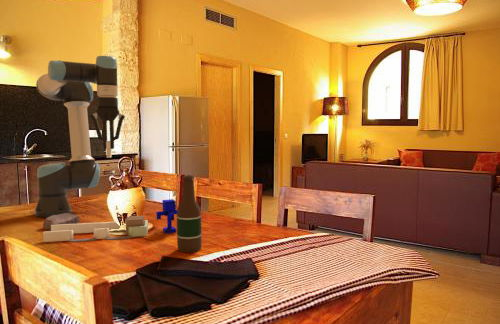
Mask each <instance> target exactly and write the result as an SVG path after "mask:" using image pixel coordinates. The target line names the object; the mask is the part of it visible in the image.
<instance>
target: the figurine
mask: <svg viewBox="0 0 500 324" xmlns="http://www.w3.org/2000/svg"><path fill="white" fill-rule="evenodd" d="M161 203H162V211H161V210H160V211H155V212H156V213H155V214H156V220H162V216H164V217H166V224H167V226H166V227H163V228H162V232H164V233H165V234H173V233H177V227H175V226H172V225H173V223H172V222H173V221H175V215H177V207H176V206H177V205H176V203H177V201H176V200H175V199H173V198H171V199H170V198H169V199H162V202H161Z"/></svg>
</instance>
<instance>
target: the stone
mask: <svg viewBox="0 0 500 324" xmlns="http://www.w3.org/2000/svg"><path fill="white" fill-rule="evenodd" d="M80 223H81V222H80V217H79V215H78V214H73V213H69V214H68V213H63V214H59V215H52V216H50V217H45V220H44V221H43V223H42V225H43V226H42V228H43V229H44V230H51V225H61V224H80Z"/></svg>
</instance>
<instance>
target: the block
mask: <svg viewBox="0 0 500 324" xmlns="http://www.w3.org/2000/svg"><path fill="white" fill-rule="evenodd" d="M125 219H126V220H125V221H126V231H125V232H126V234H125V235H126V236H129V227H137V226H144V220H145V215H130V217H126V218H125Z"/></svg>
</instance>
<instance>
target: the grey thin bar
mask: <svg viewBox="0 0 500 324" xmlns="http://www.w3.org/2000/svg"><path fill="white" fill-rule="evenodd" d="M128 239H129V240H130V239H131V237H130V236H127V235H126V236H111V237H110V236H109V238H105V240H106V241H108V240H110V241H111V240H128ZM95 240H96V239H95V238H94V237H93V238H77V239H76V238H75V239H73V240H71V241H69V243H74V242H75V243H80V242H95Z"/></svg>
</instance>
